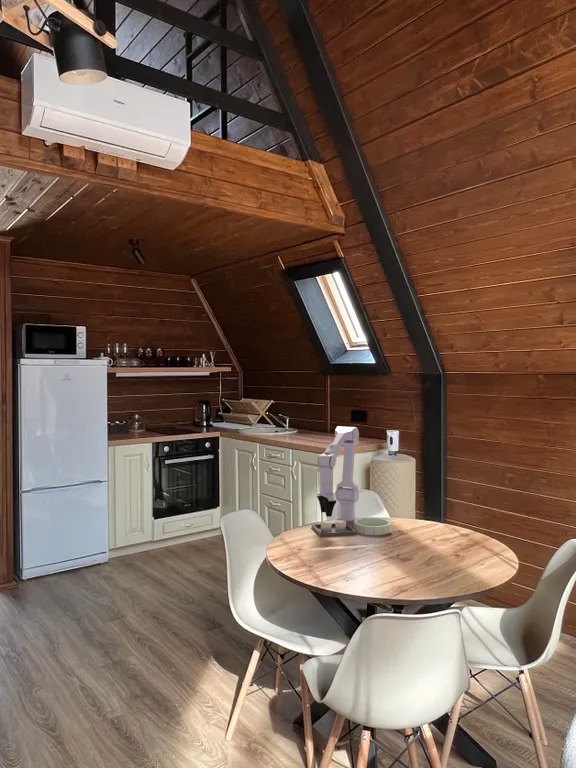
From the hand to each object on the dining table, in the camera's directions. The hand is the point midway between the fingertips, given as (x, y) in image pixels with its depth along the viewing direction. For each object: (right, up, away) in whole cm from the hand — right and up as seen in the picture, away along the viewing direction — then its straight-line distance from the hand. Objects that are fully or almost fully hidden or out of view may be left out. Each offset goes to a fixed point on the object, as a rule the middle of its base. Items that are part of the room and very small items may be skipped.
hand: (326, 514), depth 246 cm
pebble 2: (+6, -7, +1) cm, 10 cm away
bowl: (+20, -8, +3) cm, 22 cm away
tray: (+3, -8, +1) cm, 9 cm away
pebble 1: (0, -7, 0) cm, 7 cm away
